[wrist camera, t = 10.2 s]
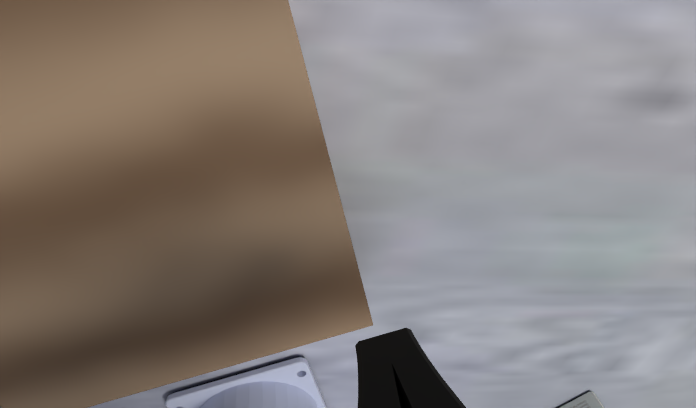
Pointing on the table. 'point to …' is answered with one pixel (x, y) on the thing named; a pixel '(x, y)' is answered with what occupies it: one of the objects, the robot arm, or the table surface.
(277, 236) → the drawer casing
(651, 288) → the table surface
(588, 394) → the supplement box
